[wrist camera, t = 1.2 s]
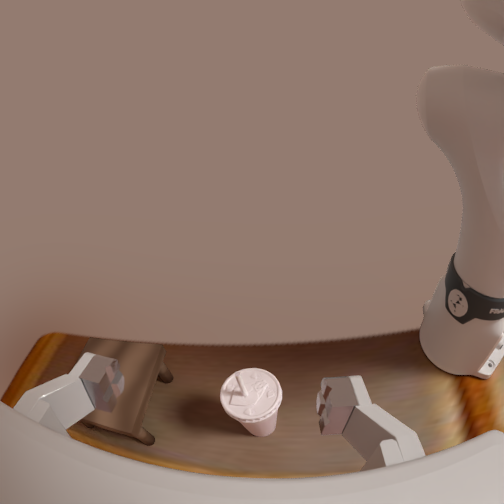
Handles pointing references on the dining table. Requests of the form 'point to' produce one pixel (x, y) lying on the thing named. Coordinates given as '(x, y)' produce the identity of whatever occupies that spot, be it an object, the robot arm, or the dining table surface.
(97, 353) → the stool
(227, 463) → the dining table surface
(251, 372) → the smoothie
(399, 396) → the dining table surface
